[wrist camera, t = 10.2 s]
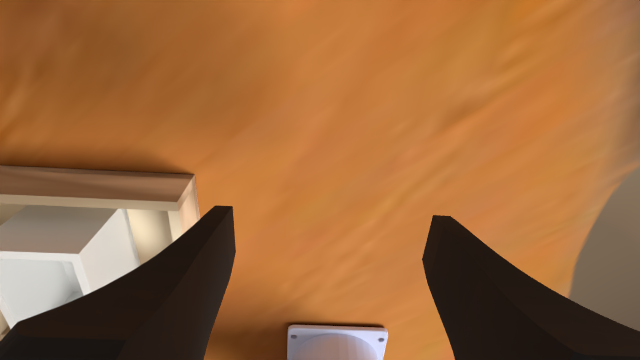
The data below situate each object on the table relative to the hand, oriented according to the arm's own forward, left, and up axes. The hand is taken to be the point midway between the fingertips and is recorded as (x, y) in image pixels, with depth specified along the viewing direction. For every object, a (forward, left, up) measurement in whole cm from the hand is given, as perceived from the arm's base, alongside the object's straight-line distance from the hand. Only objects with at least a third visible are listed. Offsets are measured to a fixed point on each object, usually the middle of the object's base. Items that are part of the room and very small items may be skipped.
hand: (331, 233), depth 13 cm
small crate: (-9, +15, -9) cm, 19 cm away
